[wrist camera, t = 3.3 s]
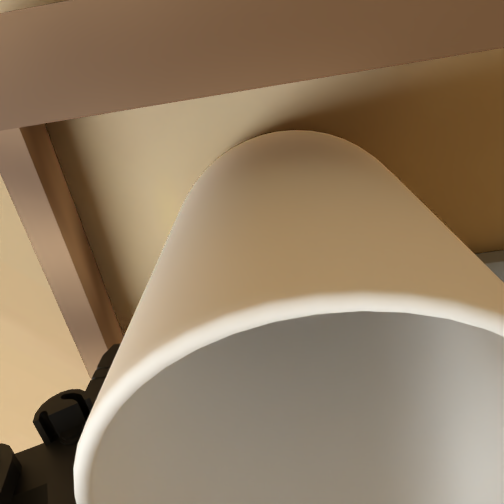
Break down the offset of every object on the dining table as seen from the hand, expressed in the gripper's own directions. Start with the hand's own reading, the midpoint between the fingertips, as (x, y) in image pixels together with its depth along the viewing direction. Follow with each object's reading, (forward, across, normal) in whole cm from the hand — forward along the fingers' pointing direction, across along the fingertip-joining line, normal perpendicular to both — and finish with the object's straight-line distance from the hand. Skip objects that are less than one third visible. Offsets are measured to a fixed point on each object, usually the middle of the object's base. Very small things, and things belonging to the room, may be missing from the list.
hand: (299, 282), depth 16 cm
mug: (+1, +1, 0) cm, 2 cm away
